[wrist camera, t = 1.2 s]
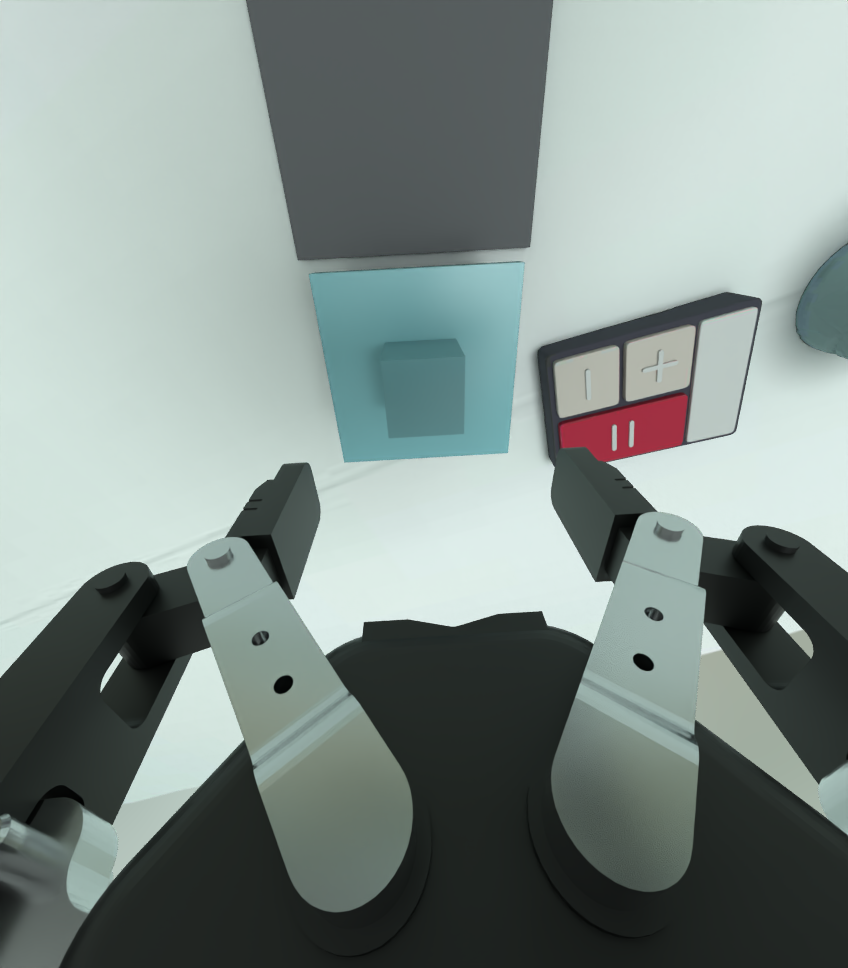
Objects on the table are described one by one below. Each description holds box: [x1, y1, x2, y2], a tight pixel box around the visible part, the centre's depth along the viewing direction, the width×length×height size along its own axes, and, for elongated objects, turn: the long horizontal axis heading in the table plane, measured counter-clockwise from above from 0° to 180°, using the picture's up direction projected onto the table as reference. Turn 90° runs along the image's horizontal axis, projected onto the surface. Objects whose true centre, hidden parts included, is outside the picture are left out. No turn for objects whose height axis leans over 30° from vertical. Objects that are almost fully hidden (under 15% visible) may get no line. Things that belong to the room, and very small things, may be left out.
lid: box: [309, 261, 525, 462], centre depth 21 cm, size 11×11×7 cm
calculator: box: [538, 292, 762, 467], centre depth 31 cm, size 11×4×15 cm
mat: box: [246, 0, 553, 260], centre depth 21 cm, size 16×16×1 cm
